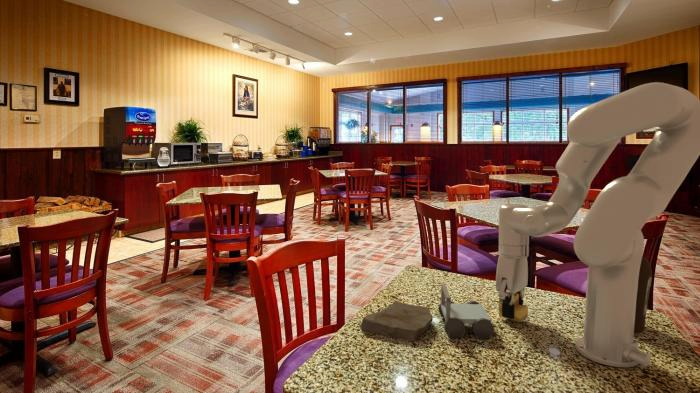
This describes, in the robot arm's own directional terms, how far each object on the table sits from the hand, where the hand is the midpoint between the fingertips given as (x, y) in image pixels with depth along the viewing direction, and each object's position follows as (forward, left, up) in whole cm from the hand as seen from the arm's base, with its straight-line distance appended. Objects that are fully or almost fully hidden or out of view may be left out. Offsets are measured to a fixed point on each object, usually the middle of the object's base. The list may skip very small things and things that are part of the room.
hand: (512, 314), depth 110 cm
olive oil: (-14, -24, -2) cm, 28 cm away
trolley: (+2, +15, -2) cm, 15 cm away
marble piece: (+10, +30, -2) cm, 32 cm away
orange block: (0, 0, -1) cm, 1 cm away
